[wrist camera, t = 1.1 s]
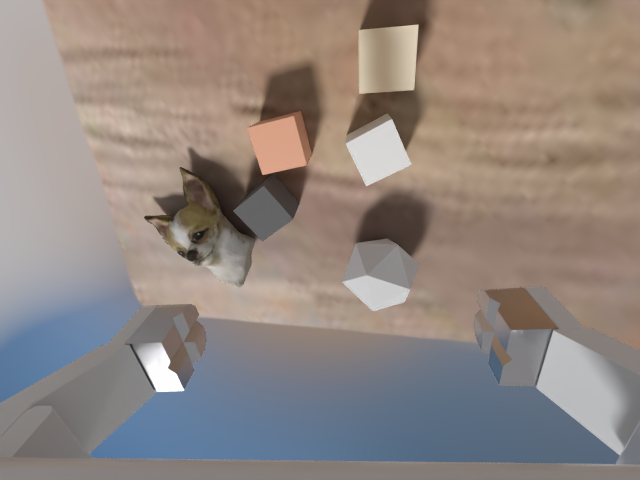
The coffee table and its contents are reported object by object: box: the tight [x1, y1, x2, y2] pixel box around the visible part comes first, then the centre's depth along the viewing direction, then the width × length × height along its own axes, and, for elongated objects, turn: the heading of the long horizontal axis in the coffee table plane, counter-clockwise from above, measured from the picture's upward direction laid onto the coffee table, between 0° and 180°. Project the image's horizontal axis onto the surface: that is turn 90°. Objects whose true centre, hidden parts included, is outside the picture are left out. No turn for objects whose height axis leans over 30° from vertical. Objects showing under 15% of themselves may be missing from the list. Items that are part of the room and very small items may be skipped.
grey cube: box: [346, 113, 411, 186], centre depth 34 cm, size 5×5×5 cm
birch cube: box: [358, 25, 418, 94], centre depth 30 cm, size 5×5×5 cm
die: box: [342, 239, 419, 311], centre depth 39 cm, size 8×9×10 cm
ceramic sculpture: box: [144, 167, 255, 287], centre depth 39 cm, size 11×9×15 cm
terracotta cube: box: [247, 111, 312, 175], centre depth 34 cm, size 5×5×5 cm
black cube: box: [233, 173, 299, 241], centre depth 38 cm, size 5×5×5 cm
